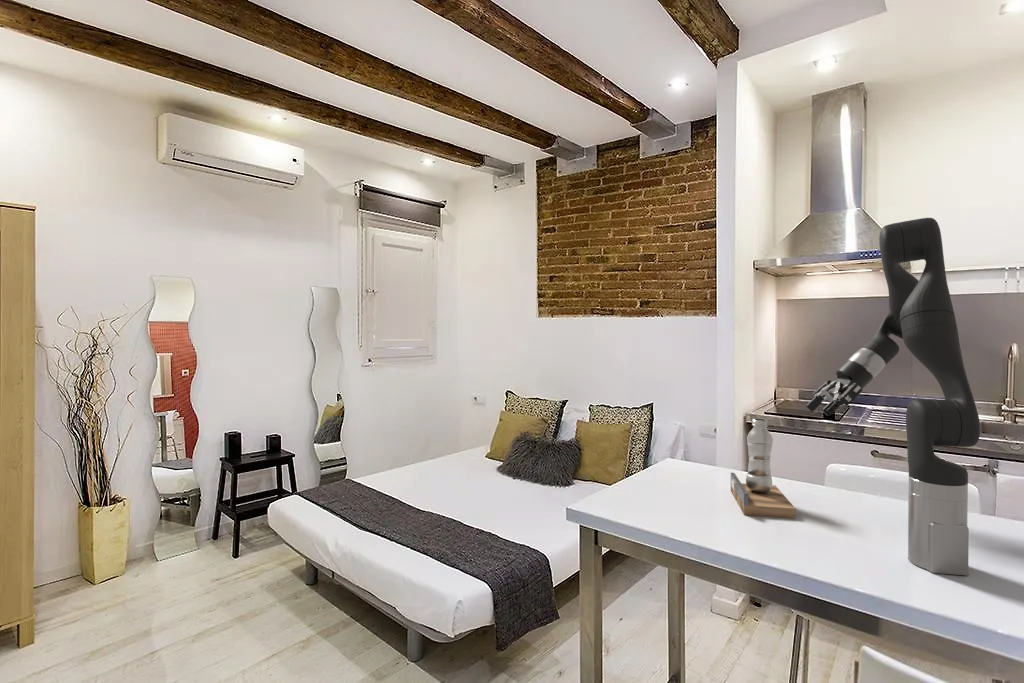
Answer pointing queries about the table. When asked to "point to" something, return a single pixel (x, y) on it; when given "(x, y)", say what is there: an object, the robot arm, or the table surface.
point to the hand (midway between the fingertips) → (816, 411)
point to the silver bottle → (759, 457)
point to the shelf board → (766, 503)
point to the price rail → (739, 489)
